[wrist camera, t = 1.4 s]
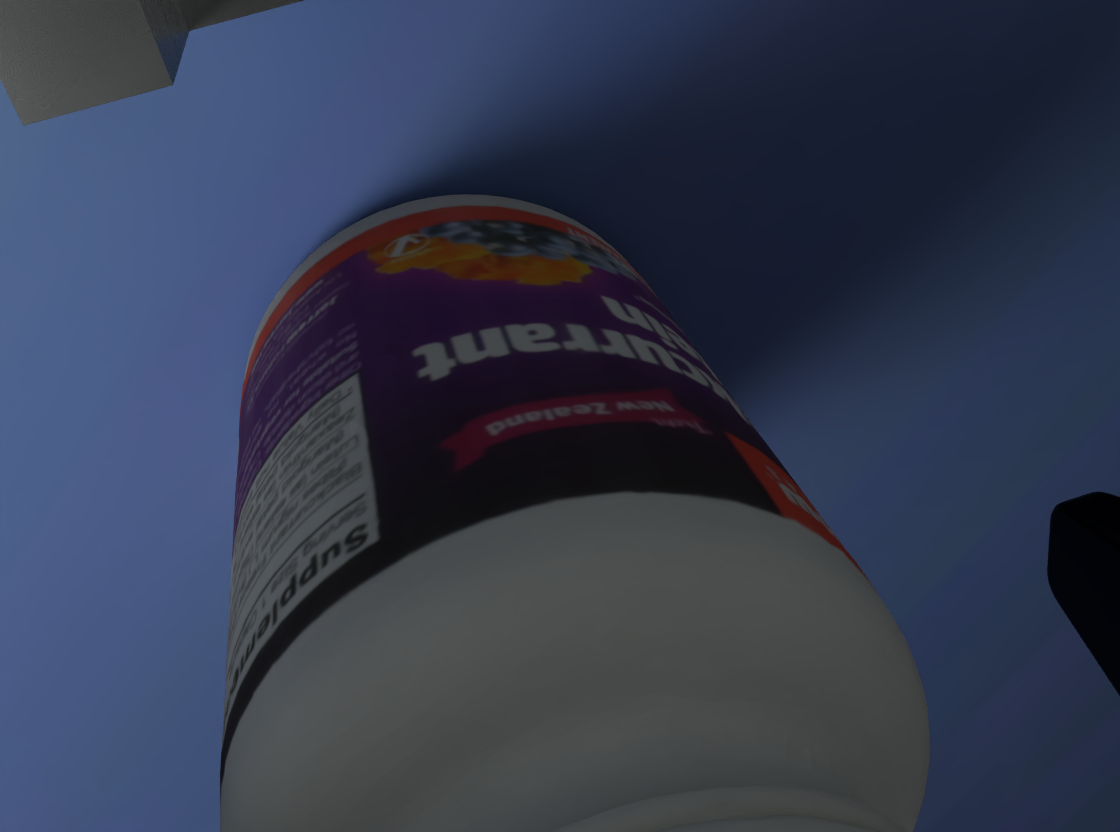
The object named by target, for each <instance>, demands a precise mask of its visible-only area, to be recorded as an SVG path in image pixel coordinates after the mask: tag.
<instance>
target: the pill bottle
mask: <svg viewBox="0 0 1120 832" xmlns="http://www.w3.org/2000/svg"><path fill="white" fill-rule="evenodd" d="M929 757H930V736H929V724H928V709H927V704H926V699H925V693H924V690H923V687H922V684H921V680H920V677H919V674H918V671H917V668H916V664H915V661H914V659H913V656H912V654H911V652H910V649H909V647H908V644H907V642H906V640H905V638H904V636H903V634H902V632H901V631H900V629H899V627H898V625H897V623H896V622H895V620H894V619H893V617H892V615H891V614H890V612H889V611H888V609H887V607H886V606H885V604H884V603H883V601H882V600H881V598H880V596H879V595H878V593H877V592H876V590H875V589H874V587H873V586H872V584H871V583H870V581H869V580H868V578H867V577H866V576H865V574H864V573H863V571H862V570H861V569H860V567H859V566H858V564H857V563H856V562H855V560H854V559H853V558H852V557H851V556H850V554H849V553H848V552H847V551H846V549H845V548H844V547H843V545H842V544H841V542H840V541H839V540H838V538H837V537H836V535H835V534H834V533H833V531H832V530H831V529H830V527H829V526H828V525H827V524H826V522H825V521H824V520H823V518H822V517H821V516H820V514H819V513H818V512H817V510H816V509H815V508H814V506H813V505H812V504H811V502H810V501H809V500H808V498H807V497H806V496H805V494H804V493H803V492H802V490H801V489H800V488H799V486H798V485H797V484H796V482H795V481H794V480H793V478H792V477H791V476H790V474H789V473H788V472H787V470H786V469H785V468H784V466H783V465H782V464H781V462H780V461H779V460H778V458H777V457H776V456H775V454H774V453H773V452H772V450H771V449H770V448H769V446H768V445H767V444H766V442H765V441H764V440H763V438H762V437H761V436H760V435H759V433H758V432H757V431H756V429H755V428H754V426H753V425H752V424H751V422H750V421H749V420H748V418H747V417H746V416H745V414H744V413H743V411H742V410H741V409H740V408H739V406H738V405H737V403H736V402H735V401H734V399H733V398H732V397H731V395H730V394H729V393H728V391H727V390H726V389H725V387H724V386H723V384H722V383H721V382H720V380H719V379H718V378H717V376H716V375H715V373H714V372H713V371H712V370H711V369H710V367H709V366H708V364H707V363H706V362H705V360H704V359H703V357H702V356H701V355H700V353H699V352H698V351H697V349H696V348H695V347H694V345H693V344H692V343H691V342H690V340H689V339H688V338H687V336H686V335H685V333H684V332H683V331H682V329H681V328H680V327H679V325H678V324H677V323H676V321H675V320H674V319H673V317H672V316H671V315H670V313H669V312H668V310H667V309H666V307H665V306H664V304H663V303H662V302H661V301H660V299H659V298H658V297H657V295H656V294H655V293H654V291H653V290H652V289H651V287H650V286H649V285H648V284H647V283H646V281H645V280H644V279H643V278H642V277H641V275H640V274H639V273H638V272H637V271H636V270H635V269H634V268H633V267H632V266H631V265H630V264H629V263H628V262H627V261H626V259H625V258H624V257H623V256H622V255H621V254H620V253H619V252H618V251H616V250H615V249H614V248H613V247H612V246H611V245H610V244H608V243H607V242H606V241H605V240H603V239H602V238H601V237H600V236H598V235H597V234H596V233H595V232H593V231H591V230H590V229H588V228H587V227H585V226H583V225H582V224H580V223H579V222H577V221H575V220H574V219H571V218H569V217H567V216H565V215H563V214H560V213H558V212H556V211H553V210H551V209H549V208H546V207H543V206H540V205H536V204H533V203H529V202H526V201H522V200H517V199H511V198H506V197H500V196H490V195H471V194H460V195H445V196H437V197H430V198H424V199H419V200H414V201H410V202H406V203H403V204H400V205H397V206H394V207H391V208H388V209H385V210H382V211H379V212H377V213H375V214H373V215H370V216H368V217H366V218H364V219H362V220H360V221H358V222H356V223H354V224H352V225H351V226H349V227H347V228H345V229H343V230H342V231H340V232H339V233H337V234H336V235H334V236H333V237H332V238H330V239H329V240H327V241H326V242H325V243H323V244H322V245H321V246H320V247H319V248H317V249H316V250H315V251H314V252H313V253H312V254H311V255H310V256H309V257H307V258H306V259H305V260H304V261H303V262H302V263H301V264H300V265H299V266H298V267H297V268H296V269H295V271H294V272H293V273H292V274H291V276H290V277H289V278H288V279H287V281H286V282H285V283H284V284H283V286H282V287H281V288H280V290H279V291H278V293H277V294H276V296H275V298H274V299H273V301H272V302H271V304H270V305H269V307H268V309H267V310H266V312H265V314H264V316H263V318H262V320H261V322H260V325H259V327H258V329H257V332H256V334H255V337H254V340H253V343H252V346H251V349H250V352H249V357H248V361H247V366H246V371H245V378H244V384H243V391H242V399H241V408H240V420H239V447H238V465H237V478H236V493H235V512H234V532H233V551H232V570H231V588H230V607H229V627H228V645H227V661H226V689H225V702H224V722H223V736H222V751H221V769H220V832H913V830H914V827H915V824H916V821H917V818H918V814H919V811H920V808H921V805H922V802H923V799H924V793H925V787H926V781H927V774H928V767H929Z"/></svg>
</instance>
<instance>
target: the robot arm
mask: <svg viewBox="0 0 1120 832" xmlns="http://www.w3.org/2000/svg"><path fill="white" fill-rule="evenodd" d="M1047 574H1048V581H1049V585H1050V588H1051V590H1052V592H1053V595H1054V597H1055V598H1056V600H1057V602H1058V603H1059V605H1060V606H1061V608H1062V609H1063V611H1064V612H1065V614H1066V615H1067V617H1068V618H1069V620H1070V622H1071V623H1072V625H1073V626H1074V628H1075V629H1076V631H1077V632H1078V634H1079V635H1080V637H1081V638H1082V640H1083V641H1084V643H1085V644H1086V646H1087V647H1088V649H1089V650H1090V652H1091V653H1092V655H1093V656H1094V658H1095V659H1096V661H1097V662H1098V664H1099V665H1100V667H1101V668H1102V670H1103V671H1104V673H1105V674H1106V676H1107V678H1108V679H1109V681H1110V682H1111V684H1112V685H1113V687H1114V688H1115V690H1116V691H1117V693H1118V694H1119V696H1120V497H1118V496H1115V495H1112V494H1109V493H1105V492H1092V493H1089V494H1086V495H1083V496H1080V497H1077V498H1073V499H1070V500H1067V501H1064V502H1061V503H1059V504H1058V505H1056V506H1055V508H1054V510H1053V511H1052V513H1051V519H1050V534H1049V550H1048V566H1047Z"/></svg>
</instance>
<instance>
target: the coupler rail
mask: <svg viewBox="0 0 1120 832" xmlns="http://www.w3.org/2000/svg"><path fill="white" fill-rule="evenodd" d="M299 1H303V0H0V81H2V83H3V85H4V87H5V89H6V91H7V93H8V95H9V97H10V99H11V101H12V103H13V105H14V108H15V110H16V112H17V114H18V116H19V118H20V120H21V122H22V124H23V125H27V124H31V123H35V122H38V121H42V120H46V119H49V118H53V117H57V116H60V115H64V114H68V113H72V112H75V111H79V110H83V109H86V108H90V107H94V106H97V105H101V104H105V103H109V102H112V101H116V100H120V99H123V98H127V97H131V96H135V95H138V94H142V93H146V92H149V91H153V90H157V89H160V88H164V87H168V86H172V85H173V84H174V80H175V77H176V74H177V71H178V67H179V64H180V61H181V57H182V54H183V51H184V47H185V44H186V41H187V38H188V34H189V31H190V30H194V29H198V28H202V27H205V26H209V25H213V24H217V23H220V22H224V21H228V20H232V19H235V18H239V17H243V16H247V15H250V14H254V13H258V12H262V11H266V10H269V9H273V8H277V7H281V6H284V5H288V4H292V3H296V2H299Z"/></svg>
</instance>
